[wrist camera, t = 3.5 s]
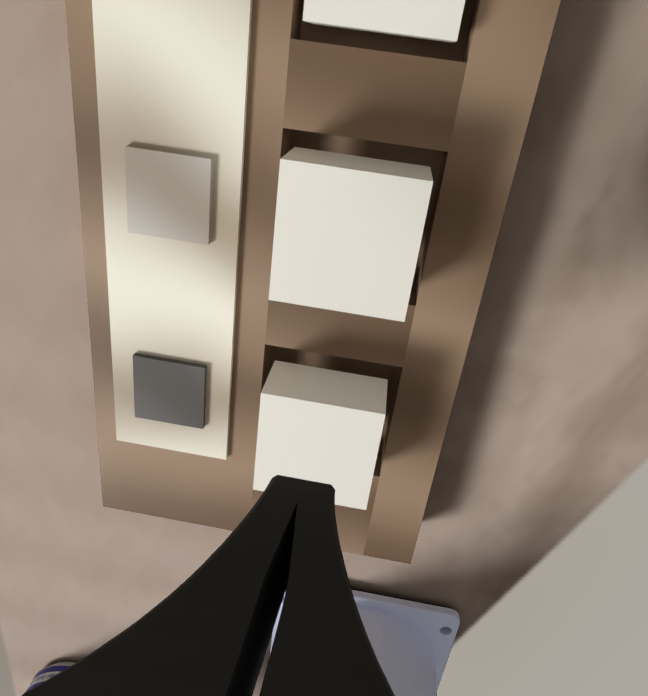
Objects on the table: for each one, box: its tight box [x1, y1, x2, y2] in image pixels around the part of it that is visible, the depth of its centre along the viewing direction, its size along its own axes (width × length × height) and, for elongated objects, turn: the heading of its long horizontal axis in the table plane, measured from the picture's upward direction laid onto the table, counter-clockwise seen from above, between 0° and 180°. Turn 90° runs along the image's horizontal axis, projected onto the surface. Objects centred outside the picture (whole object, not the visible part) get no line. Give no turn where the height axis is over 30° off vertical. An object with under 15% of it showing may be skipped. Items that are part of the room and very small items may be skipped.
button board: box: [65, 0, 561, 564], centre depth 17 cm, size 25×12×2 cm, turn 173°
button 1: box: [253, 360, 388, 510], centre depth 18 cm, size 4×4×2 cm
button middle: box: [269, 147, 433, 322], centre depth 15 cm, size 4×4×2 cm
